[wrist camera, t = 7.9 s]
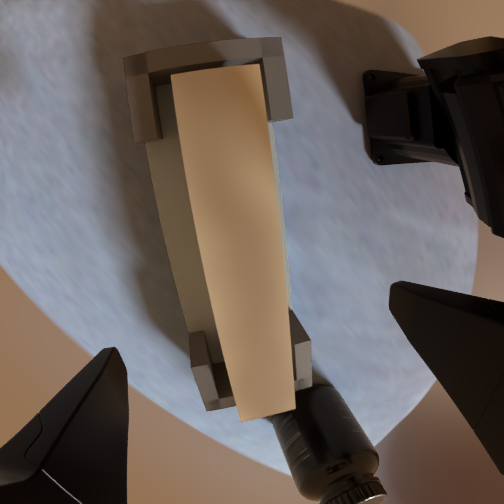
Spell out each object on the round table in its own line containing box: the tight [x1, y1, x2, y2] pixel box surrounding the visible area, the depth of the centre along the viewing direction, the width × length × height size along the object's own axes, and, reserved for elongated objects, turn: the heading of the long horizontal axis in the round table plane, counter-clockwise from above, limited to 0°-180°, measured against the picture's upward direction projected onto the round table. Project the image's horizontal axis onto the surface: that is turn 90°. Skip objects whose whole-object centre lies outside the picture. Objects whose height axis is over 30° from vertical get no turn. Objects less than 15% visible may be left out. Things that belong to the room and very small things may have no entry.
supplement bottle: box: [272, 385, 387, 504], centre depth 21 cm, size 7×7×12 cm
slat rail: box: [123, 37, 312, 411], centre depth 17 cm, size 7×21×4 cm, turn 7°
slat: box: [171, 64, 296, 422], centre depth 15 cm, size 3×16×6 cm, turn 7°
